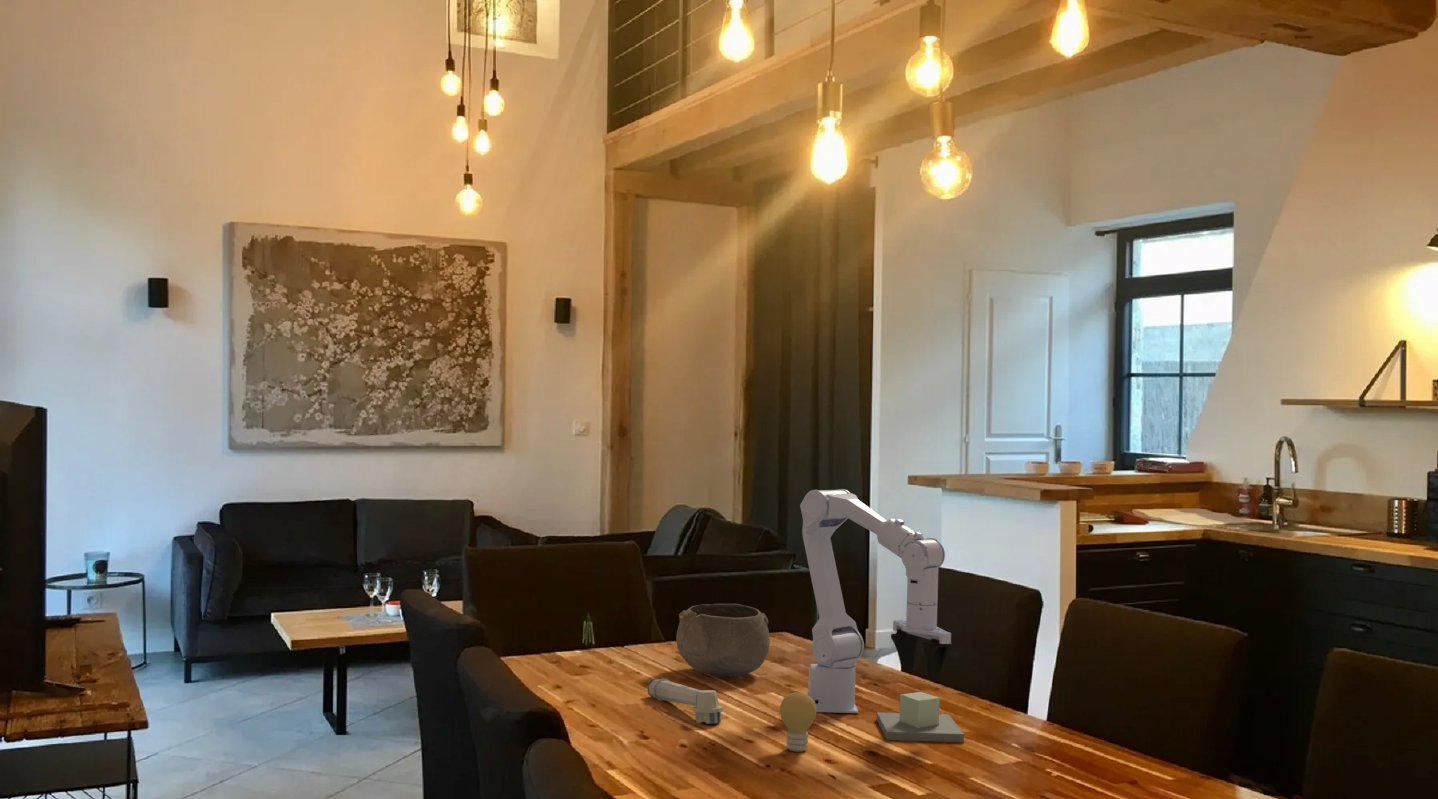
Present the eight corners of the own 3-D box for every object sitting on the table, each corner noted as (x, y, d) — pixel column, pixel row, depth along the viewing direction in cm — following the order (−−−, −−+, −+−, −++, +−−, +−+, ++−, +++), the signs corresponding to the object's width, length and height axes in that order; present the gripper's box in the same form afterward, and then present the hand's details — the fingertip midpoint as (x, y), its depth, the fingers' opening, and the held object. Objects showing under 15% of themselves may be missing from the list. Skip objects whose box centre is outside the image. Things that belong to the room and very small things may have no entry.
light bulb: (820, 754, 199) (822, 696, 199) (786, 756, 197) (787, 697, 197) (807, 744, 205) (809, 687, 205) (773, 745, 203) (775, 689, 204)
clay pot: (785, 673, 262) (786, 607, 263) (737, 690, 245) (739, 619, 245) (707, 660, 274) (709, 597, 274) (657, 676, 256) (659, 608, 256)
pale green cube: (899, 721, 217) (900, 694, 217) (920, 718, 220) (921, 691, 220) (917, 727, 213) (918, 700, 213) (938, 724, 215) (939, 697, 215)
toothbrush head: (666, 676, 239) (727, 685, 218) (667, 709, 238) (728, 722, 217) (643, 679, 236) (703, 688, 215) (644, 712, 235) (704, 724, 214)
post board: (887, 740, 209) (887, 712, 209) (876, 720, 223) (877, 694, 223) (963, 742, 209) (964, 714, 209) (948, 722, 223) (949, 696, 223)
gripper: (881, 598, 221) (879, 669, 221) (930, 610, 208) (928, 685, 208) (909, 596, 225) (908, 666, 224) (960, 608, 212) (958, 682, 212)
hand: (920, 675), depth 217 cm, fingers open, 7 cm apart
